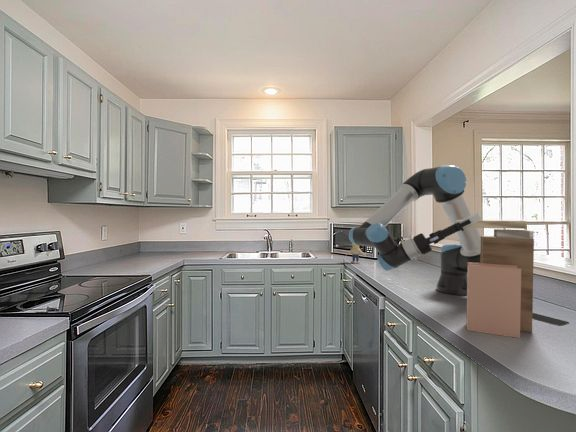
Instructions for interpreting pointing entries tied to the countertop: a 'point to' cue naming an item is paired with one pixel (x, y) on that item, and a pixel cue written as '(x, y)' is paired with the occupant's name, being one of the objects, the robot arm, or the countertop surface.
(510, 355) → the countertop surface
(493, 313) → the pink rectangular box
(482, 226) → the slat
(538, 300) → the countertop surface
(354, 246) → the toy
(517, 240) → the stand
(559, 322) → the smartphone
